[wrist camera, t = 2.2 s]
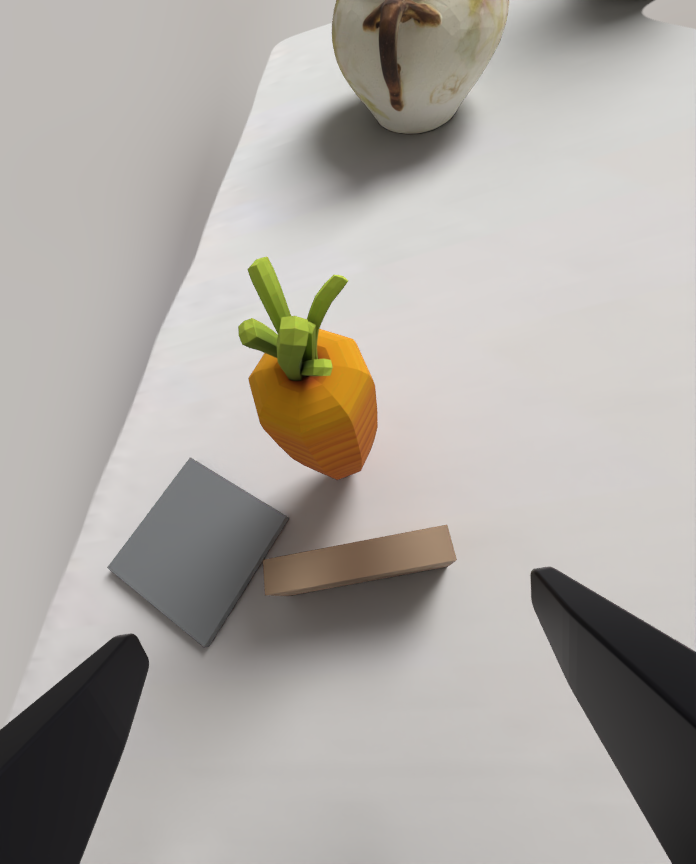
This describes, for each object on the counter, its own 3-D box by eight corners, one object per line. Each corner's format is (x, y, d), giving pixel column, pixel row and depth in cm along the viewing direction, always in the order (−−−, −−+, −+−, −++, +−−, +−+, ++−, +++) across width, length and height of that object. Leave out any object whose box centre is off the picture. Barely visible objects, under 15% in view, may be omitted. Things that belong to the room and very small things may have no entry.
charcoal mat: (209, 645, 21) (203, 647, 20) (114, 568, 23) (107, 567, 23) (289, 518, 23) (286, 516, 22) (194, 460, 25) (190, 457, 25)
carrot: (312, 431, 25) (203, 233, 11) (387, 431, 24) (364, 219, 11) (305, 505, 23) (162, 371, 9) (385, 507, 22) (356, 364, 9)
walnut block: (439, 537, 21) (447, 524, 18) (447, 566, 20) (456, 559, 17) (286, 566, 22) (263, 559, 18) (289, 595, 21) (265, 595, 17)
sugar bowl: (472, 176, 33) (519, -116, 20) (316, 168, 37) (265, -84, 23) (505, 57, 40) (556, -219, 27) (371, 60, 44) (356, -182, 30)
